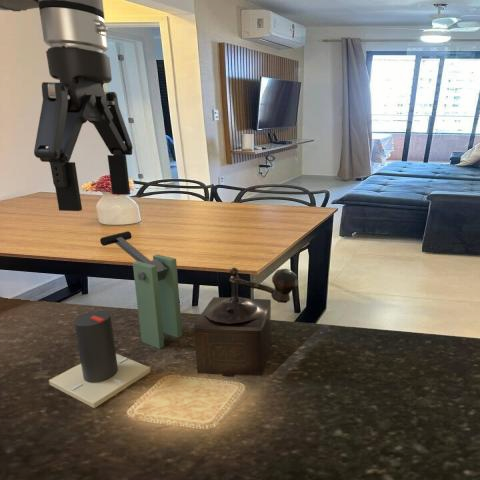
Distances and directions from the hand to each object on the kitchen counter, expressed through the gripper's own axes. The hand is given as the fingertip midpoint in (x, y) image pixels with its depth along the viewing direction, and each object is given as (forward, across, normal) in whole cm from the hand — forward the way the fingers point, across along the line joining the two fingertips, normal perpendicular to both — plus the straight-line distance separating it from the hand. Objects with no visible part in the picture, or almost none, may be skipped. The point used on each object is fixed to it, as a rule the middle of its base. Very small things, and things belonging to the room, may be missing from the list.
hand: (98, 201), depth 59 cm
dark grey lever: (+11, +3, -3) cm, 12 cm away
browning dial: (+24, -10, -3) cm, 26 cm away
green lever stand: (+26, +1, -7) cm, 27 cm away
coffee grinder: (+26, -4, -24) cm, 35 cm away
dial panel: (+26, -10, -3) cm, 28 cm away
